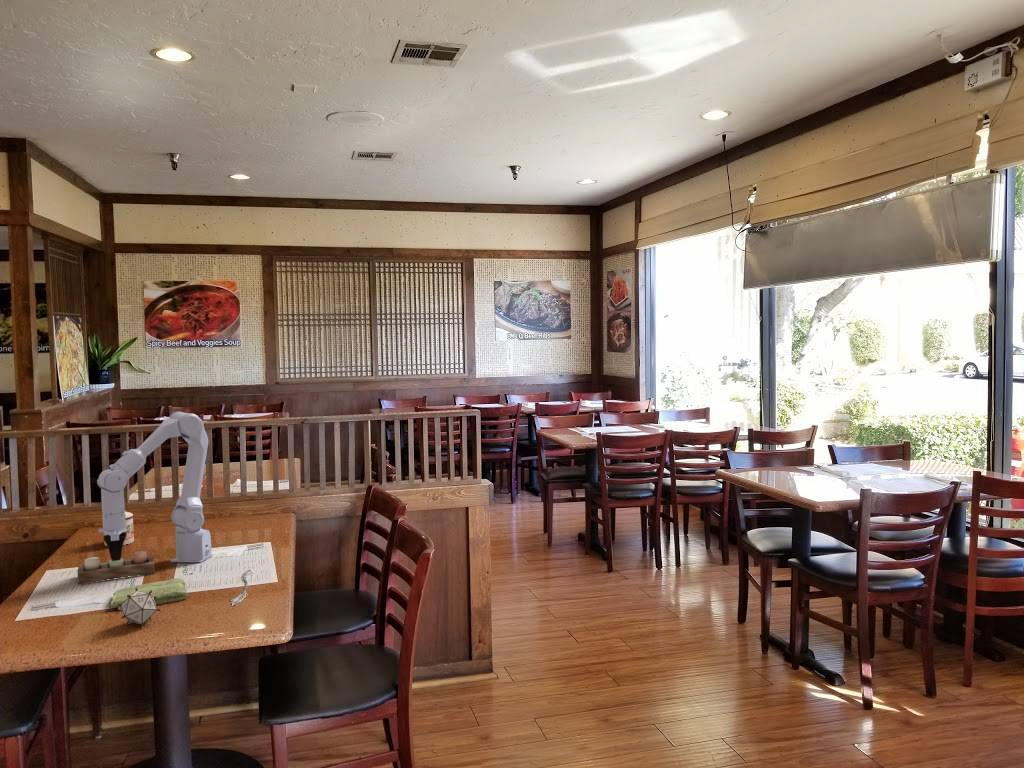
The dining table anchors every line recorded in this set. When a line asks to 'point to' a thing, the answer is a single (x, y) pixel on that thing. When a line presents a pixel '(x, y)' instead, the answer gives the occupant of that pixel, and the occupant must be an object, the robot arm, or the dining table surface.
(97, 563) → the cream button
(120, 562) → the sage button
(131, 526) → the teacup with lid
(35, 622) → the dining table surface
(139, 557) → the terracotta button
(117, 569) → the button panel
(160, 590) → the washcloth
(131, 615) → the game die
